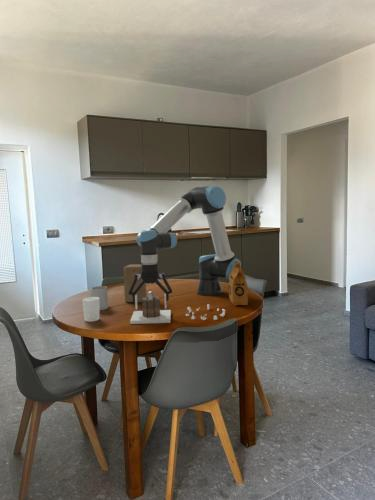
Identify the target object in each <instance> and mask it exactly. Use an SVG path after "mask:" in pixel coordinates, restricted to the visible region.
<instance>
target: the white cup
mask: <svg viewBox="0 0 375 500" xmlns="http://www.w3.org/2000/svg"><path fill="white" fill-rule="evenodd" d="M81 301H82V310H83V317H84V321H85V322H96V321H99V320H100V311H101V310H100V298H98V297H91V296H90V297H89V296H88V297H84V298H82V300H81Z"/></svg>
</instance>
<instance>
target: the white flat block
mask: <svg viewBox="0 0 375 500" xmlns="http://www.w3.org/2000/svg"><path fill="white" fill-rule="evenodd" d="M171 312H172V311H171V309H160V316H157V317H150V318H148V317H143V310H133V312H132V316H131V317H130V320H129V321H130V322H129V323H130V325H137V324H138V325H139V324H144V325H145V324H166V323H168V324H170V323H172V322H171V319H172V318H171V315H172V313H171Z"/></svg>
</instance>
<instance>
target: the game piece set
mask: <svg viewBox="0 0 375 500" xmlns="http://www.w3.org/2000/svg"><path fill="white" fill-rule="evenodd" d="M206 307H207V310H208V311H209V310H210V304H209V303H207V305H206ZM200 308H201V307H198V308H196V311H199V310H200ZM221 310H222V313H220V314H219V316H220V317H222V318H224V316H225V314H226V309H224V308H222V309H221ZM187 311H188V313H186V314H185V317H189V316H190V313H191V314H192V315H191V317H190V319H191V320H196V316H195V315H194V314H195V312H194V311H192V307H190V306H187ZM216 311H217V312H220V308H219V307H218V308H217V309H216ZM206 316H207V313H205V314H204V316H202V315H200V320H202V321H206V319H207V317H206ZM216 320H217V321H218V315H213V321H216Z"/></svg>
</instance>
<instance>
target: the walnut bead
mask: <svg viewBox="0 0 375 500" xmlns="http://www.w3.org/2000/svg"><path fill="white" fill-rule="evenodd" d="M160 301H161V300H160V296H157V295H156V296H154V295H153V299H150V300H148V296H146V297H144V298H142V302H141V306H142V308H141V309H142V310H141V311H143V317H148V318H150V317H157V316H160V310H161V304H160V303H161V302H160Z"/></svg>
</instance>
